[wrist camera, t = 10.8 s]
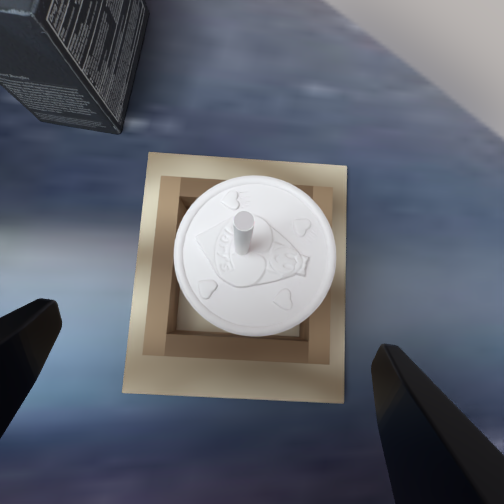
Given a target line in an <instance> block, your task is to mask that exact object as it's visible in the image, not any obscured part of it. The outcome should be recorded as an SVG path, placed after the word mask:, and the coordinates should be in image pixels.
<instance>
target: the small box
mask: <svg viewBox="0 0 504 504" xmlns="http://www.w3.org/2000/svg"><path fill="white" fill-rule="evenodd" d="M148 16H149V11H148V8H147V6H146V3H145V0H0V85H1V86H2V87H3V88H5V89H6V90H7V91H8V92H9V93H10V94H11V95H12V96H13V97H14V98H16V99H17V100H18V101H19V102H20V103H21V104H22V105H23V106H24V107H26V108H27V109H28V110H29V111H30V112H31V113H32V114H33V115H34V116H35V117H36V118H37V119H38V120H40V121H43V122H48V123H53V124H58V125H65V126H70V127H76V128H82V129H88V130H94V131H100V132H106V133H112V134H119V133H121V130H122V125H123V122H124V118H125V114H126V109H127V105H128V101H129V97H130V93H131V88H132V84H133V80H134V76H135V71H136V67H137V63H138V59H139V55H140V50H141V46H142V42H143V38H144V34H145V29H146V25H147V20H148Z"/></svg>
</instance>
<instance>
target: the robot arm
mask: <svg viewBox="0 0 504 504" xmlns="http://www.w3.org/2000/svg"><path fill="white" fill-rule="evenodd" d="M61 327H62V319H61V316H60V312H59V308H58V304H57V302H56V301H55V300H50V299H43V298H40V299H37V300H35V301H33V302H31V303H29V304H27V305H25V306H23V307H21V308H19V309H17V310H15V311H13V312H11V313H9V314H7V315H5V316H3V317H1V318H0V438H1V437H2V435H3V434H4V432H5V430H6V429H7V427H8V426H9V424H10V422H11V421H12V419H13V417H14V416H15V414H16V413H17V411H18V409H19V408H20V406H21V405H22V403H23V401H24V400H25V398H26V396H27V395H28V393H29V392H30V390H31V388H32V387H33V385H34V383H35V381H36V380H37V378H38V376H39V374H40V372H41V370H42V368H43V366H44V364H45V362H46V360H47V357H48V355H49V353H50V351H51V349H52V347H53V345H54V343H55V341H56V339H57V337H58V335H59V333H60V330H61ZM371 373H372V382H373V391H374V399H375V408H376V416H377V423H378V429H379V434H380V438H381V443H382V447H383V451H384V456H385V460H386V465H387V469H388V473H389V478H390V482H391V486H392V491H393V495H394V500H395V504H504V455H503V454H502V453H501V452H500V451H499V450H498V449H497V448H496V447H495V446H494V445H493V444H492V443H491V442H490V441H489V440H488V439H487V438H486V436H485V435H484V434H483V433H482V432H481V431H480V430H479V429H478V428H477V427H476V426H475V425H474V424H473V423H472V422H471V421H470V420H469V419H468V418H467V417H466V416H465V415H464V414H463V413H462V412H461V411H460V410H459V409H458V408H457V407H456V405H455V404H454V403H453V402H452V401H451V400H450V399H449V398H448V397H447V396H446V395H445V394H444V393H443V392H442V391H441V390H440V389H439V388H438V387H437V386H436V385H435V384H434V383H433V382H432V381H431V380H430V379H429V378H428V377H427V375H426V374H425V373H424V372H423V371H422V370H421V369H420V368H419V367H418V366H417V365H416V364H415V363H414V362H413V361H412V360H411V359H410V358H409V357H408V356H407V355H406V354H405V353H404V352H403V351H402V350H401V349H400V348H399V347H398V346H396V345H391V344H382V345H380V347H379V349H378V351H377V353H376V355H375V358H374V360H373V362H372V365H371Z"/></svg>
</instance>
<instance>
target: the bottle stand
mask: <svg viewBox="0 0 504 504" xmlns="http://www.w3.org/2000/svg"><path fill="white" fill-rule="evenodd" d="M251 175H255V176H268V177H272V178H276V179H280V180H283V181H285V182H288V183H290V184H292V185H294V186H296V187H297V188H299V189H300V190H302V191H303V192H304V193H306V194H307V195H308V196H309V197H310V198H311V199H312V200H313V201H314V202H315V203H316V204H317V205H318V206H319V207H320V209H321V210H322V212H323V213H324V215H325V217H326V218H327V220H328V222H329V224H330V227H331V229H332V232H333V236H334V240H335V246H336V268H335V274H334V277H333V281H332V284H331V286H330V289H329V291H328V293H327V295H326V297H325V298H324V300H323V301H322V303H321V304H320V305H319V307H318V308H317V309H316V310H315V311H314V312H313V313H312V314H311V315H310V316H309V317H308V318H307V319H305V320H304V321H303V322H301V323H300V324H298V325H296V326H295V327H293V328H291V329H289V330H286V331H284V332H281V333H277V334H273V335H268V336H256V337H255V336H243V335H238V334H234V333H231V332H227V331H225V330H223V329H220V328H218V327H216V326H215V325H213V324H211V323H210V322H208V321H207V320H206V319H204V318H203V317H202V316H201V315H200V314H199V313H198V312H197V311H196V310H195V309H194V308H193V307H192V306H191V304H190V303H189V302H188V300H187V299H186V297H185V296H184V294H183V292H182V290H181V288H180V285H179V282H178V280H177V276H176V272H175V266H174V244H175V239H176V234H177V231H178V228H179V225H180V223H181V221H182V219H183V217H184V215H185V214H186V212H187V211H188V209H189V208H190V206H191V205H192V204H193V203H194V202H195V201H196V200H197V199H198V198H199V197H200V196H201V195H202V194H203V193H205V192H206V191H207V190H209V189H210V188H212V187H213V186H215V185H217V184H219V183H221V182H224V181H226V180H229V179H232V178H236V177H242V176H251ZM346 194H347V166H340V165H325V164H311V163H297V162H283V161H269V160H254V159H240V158H226V157H212V156H198V155H183V154H169V153H155V152H149V155H148V164H147V173H146V182H145V191H144V200H143V209H142V218H141V226H140V235H139V244H138V253H137V262H136V271H135V280H134V289H133V298H132V307H131V316H130V325H129V334H128V343H127V352H126V361H125V370H124V379H123V388H122V393H134V394H155V395H176V396H196V397H217V398H238V399H259V400H279V401H300V402H321V403H342V404H344V360H345V277H346Z"/></svg>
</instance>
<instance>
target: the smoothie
mask: <svg viewBox="0 0 504 504" xmlns="http://www.w3.org/2000/svg"><path fill="white" fill-rule="evenodd" d="M174 266H175V272H176V276H177V280H178V282H179V285H180V288H181V290H182V292H183V294H184V296H185V297H186V299H187V300H188V302H189V303H190V304H191V306H192V307H193V308H194V309H195V310H196V311H197V312H198V313H199V314H200V315H201V316H202V317H203V318H204V319H206V320H207V321H208V322H210V323H211V324H213V325H215V326H216V327H218V328H220V329H223V330H225V331H227V332H231V333H234V334H238V335H243V336H255V337H256V336H268V335H273V334H277V333H281V332H284V331H286V330H289V329H291V328H293V327H295V326H296V325H298V324H300V323H301V322H303V321H304V320H305V319H307V318H308V317H309V316H310V315H311V314H312V313H313V312H314V311H315V310H316V309H317V308H318V307H319V305H320V304H321V303H322V301H323V300H324V298H325V297H326V295H327V293H328V291H329V289H330V286H331V284H332V281H333V277H334V274H335V268H336V246H335V240H334V236H333V232H332V229H331V227H330V224H329V222H328V220H327V218H326V217H325V215H324V213H323V212H322V210H321V209H320V207H319V206H318V205H317V204H316V203H315V202H314V201H313V200H312V199H311V198H310V197H309V196H308V195H307V194H306V193H304V192H303V191H302V190H300V189H299V188H297V187H296V186H294V185H292V184H290V183H288V182H285V181H283V180H280V179H276V178H272V177H268V176H255V175H251V176H242V177H236V178H232V179H229V180H226V181H224V182H221V183H219V184H217V185H215V186H213V187H212V188H210V189H209V190H207V191H206V192H205V193H203V194H202V195H201V196H200V197H199V198H198V199H197V200H196V201H195V202H194V203H193V204H192V205H191V206H190V208H189V209H188V211H187V212H186V214H185V215H184V217H183V219H182V221H181V223H180V225H179V228H178V231H177V234H176V239H175V244H174Z"/></svg>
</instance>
